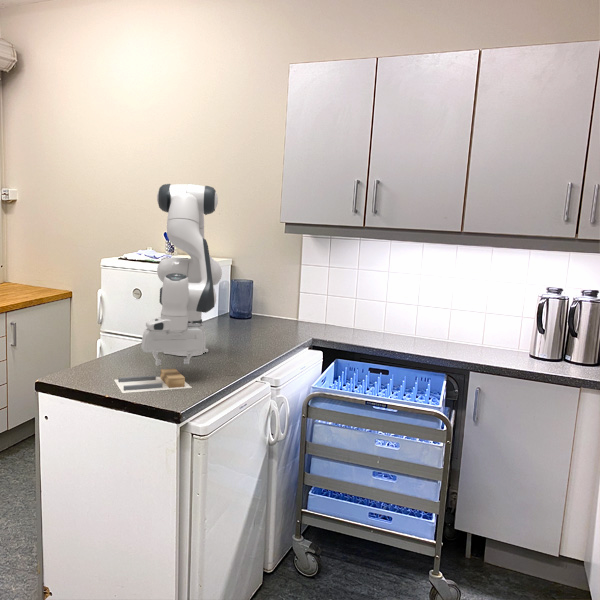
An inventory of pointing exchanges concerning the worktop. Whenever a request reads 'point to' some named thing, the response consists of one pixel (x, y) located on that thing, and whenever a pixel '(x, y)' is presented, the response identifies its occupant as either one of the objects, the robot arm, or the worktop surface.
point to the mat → (143, 384)
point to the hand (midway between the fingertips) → (172, 364)
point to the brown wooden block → (172, 378)
